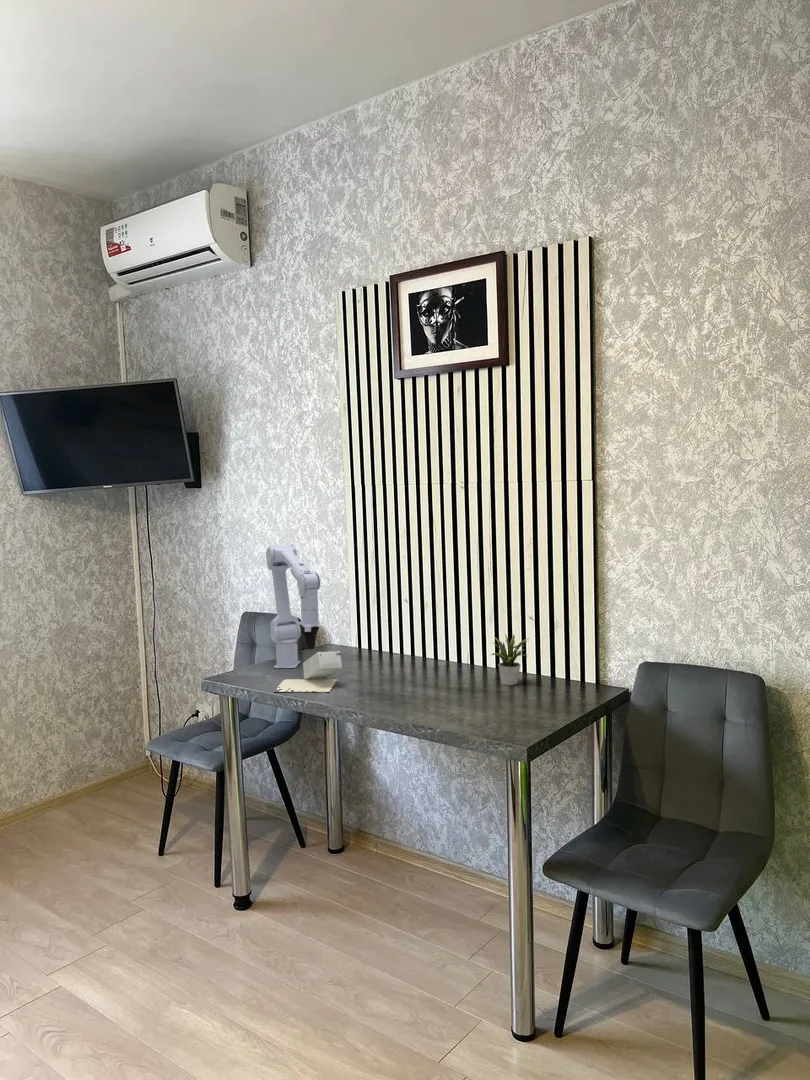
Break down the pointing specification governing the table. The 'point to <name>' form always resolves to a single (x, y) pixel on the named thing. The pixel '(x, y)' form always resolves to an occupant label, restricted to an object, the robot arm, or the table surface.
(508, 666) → the house plant
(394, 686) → the table surface
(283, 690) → the mat
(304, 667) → the skincare box
